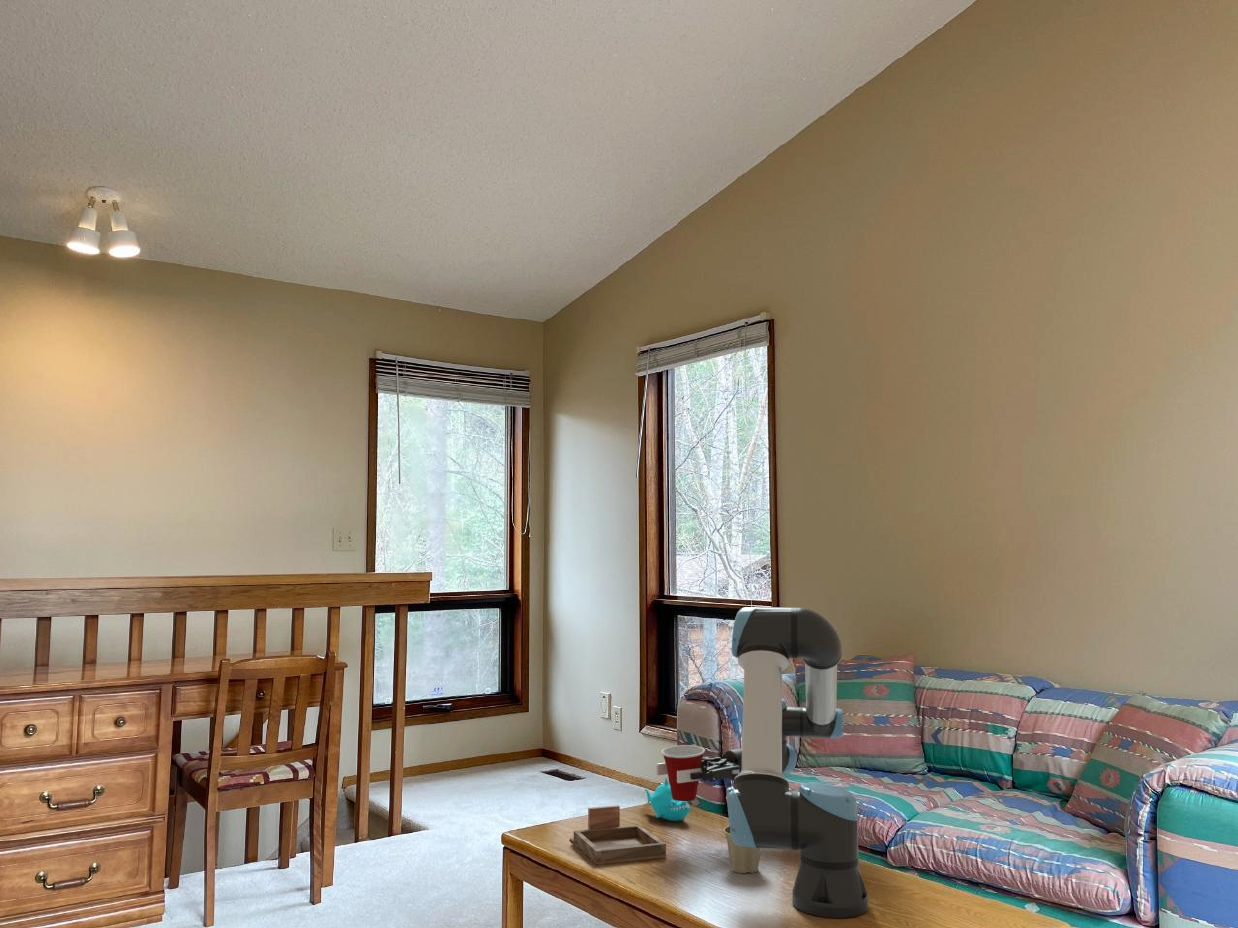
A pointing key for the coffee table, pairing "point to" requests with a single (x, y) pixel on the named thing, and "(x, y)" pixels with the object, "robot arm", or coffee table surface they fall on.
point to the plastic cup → (682, 760)
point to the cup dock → (616, 838)
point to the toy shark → (667, 803)
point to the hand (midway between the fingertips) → (667, 773)
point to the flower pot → (741, 855)
